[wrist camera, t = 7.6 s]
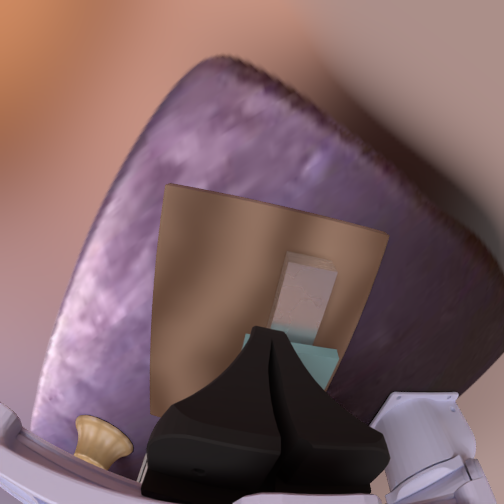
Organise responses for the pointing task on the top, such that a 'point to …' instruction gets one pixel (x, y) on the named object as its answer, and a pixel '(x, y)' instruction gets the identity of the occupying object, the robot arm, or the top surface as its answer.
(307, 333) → the link
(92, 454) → the hand bell
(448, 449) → the robot arm
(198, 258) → the base plate
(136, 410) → the top surface
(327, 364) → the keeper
